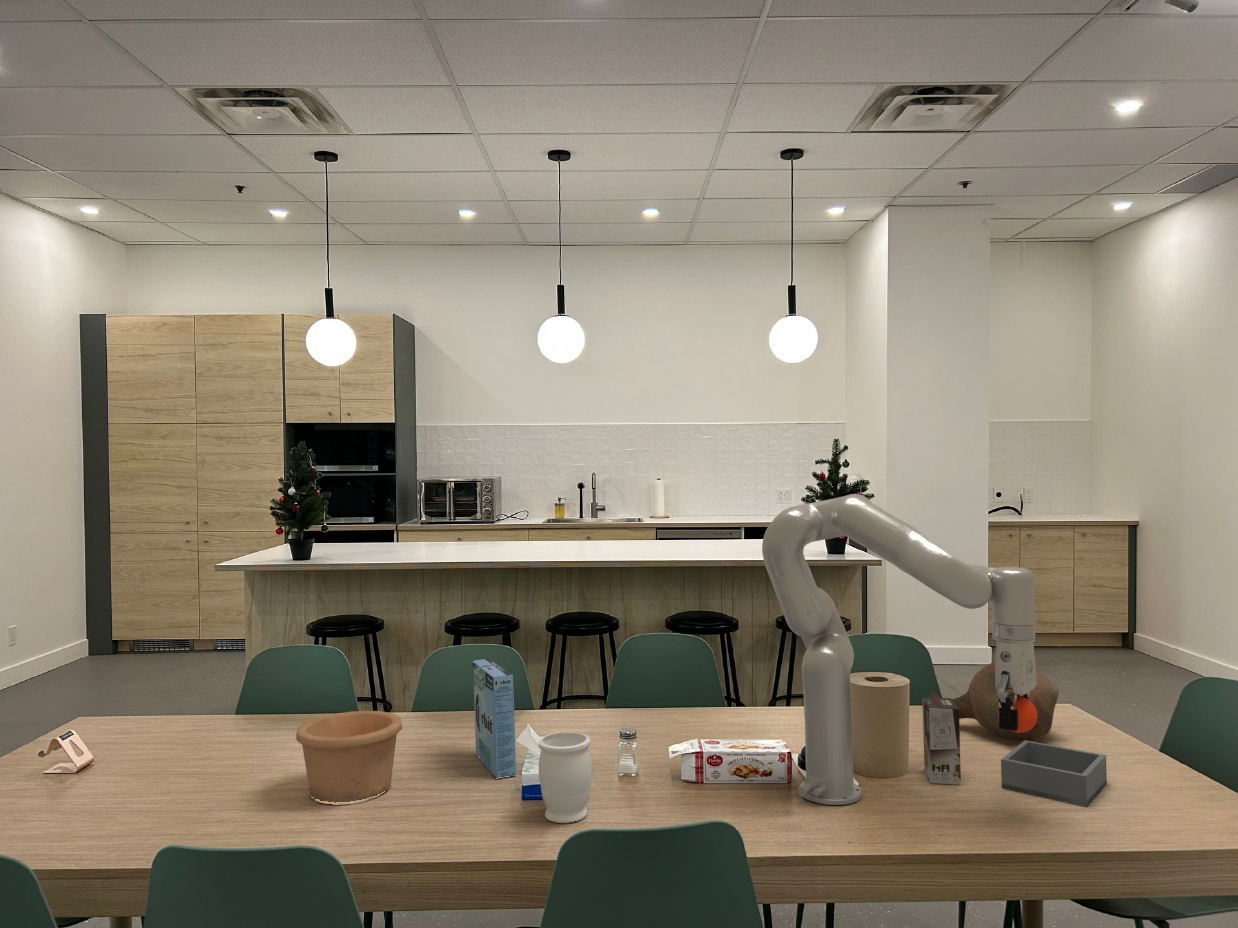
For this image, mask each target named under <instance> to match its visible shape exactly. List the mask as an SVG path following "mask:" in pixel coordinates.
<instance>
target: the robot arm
mask: <svg viewBox="0 0 1238 928" xmlns="http://www.w3.org/2000/svg"><path fill="white" fill-rule="evenodd" d="M763 535H764V536H763V538H762V544H761V545H762V546H761V549H762V551H761V552H762V558H763V559H762V560H763V563H764V566H765V568H766V572H767V574H768V576H769V580H770V581H771V585H772V587H773V589H774V593H775V594H776V597H777V601H778V602H779V605H780V608H781V610H782V613H783V616H784V619H785V622H786V624H787V626H788V628H789V629H790V631H792V632H793V633H794V634H795V635H797V636H798V637H801V639H802V641H803V644H804V646H805V648H806V651H805V653H804V655H803V658H802V662H801V680H802V681H801V683H802V690H803V708H804V709H803V710H804V712H803V713H804V738H805V740H804V741H805V746H804V747H805V780H804V781H802V782H801V783H800V784H799V786H798V787H797V795H799V797H801V798H804V799H805V800H808V801H810V802H812V803H815V804H821V805H826V806H827V805H829V806H840V805H841V806H843V805H844V806H845V805H850V804H854V803H855V802H858V801H859V800H860V799H861V798H862V795H863V794H862V789H861V787H859V785H858V784H855V783H854V755H853V753H854V751H853V750H854V749H853V745H854V744H853V719H852V718H853V716H852V711H853V710H852V696H851V670H852V667H853V665H854V661H855V660H854V659H855V653H854V648H853V646H852V642H851V640H850V637H849V634H848V633H847V630H846V627H845V625H844V623H843V621H842V619H841V616H840V614H839V611H838V609H837V606H836V604H835V602H834V601H833V599H832V597H831V596H830V594H829V593H828V592H826V591H825V590H824V589H823V588H820V587H818V586H817V584H816V581H815V579H814V576H813V573H812V571H811V568H810V566H809V564H808V561H807V560H806V557H805V554H804V549H805V547H806V546H807V545H809V544H811V543H813V542H819V541H825V540H832V539H834V538H840V537H841V538H842V537H847V538H848V539H851V540H852V541H853V542H855V543H856V544H858V545H861V546H862V547H864V548H866V549H867V550H868V551H870V552H873V553H874V554H875V555H877V556H879V557H881V558H882V559H883V560H885V561H887V562H888V563H890V564H892V565H894V566H895V567H896V568H898V569H899V570H900V571H902V572H904V573H906V574H908V575H909V576H911V577H913V578H914V579H915V580H917V581H919V582H920V583H922V584H923V585H924V586H926V587H927V588H929V589H931V590H932V591H934V592H936V593H937V594H939V595H941V596H943V597H944V598H946V599H948V600H949V601H951V602H953V603H954V604H956V605H958V606H960V607H962V608H964V609H968V610H969V609H971V610H974V609H979V608H983V607H984V606H985V605H987V603H989V601H990V603H991V630H992V631H991V633H992V634H991V635H992V636H991V637H992V640H994V641H996V643H995V644H996V645H995V655H994V656H995V660H994V662H995V685H996V690H997V694H998V700H999V704H998V706H999V727H1000V728H1001V729H1006V730H1012V731H1017V730H1018V710H1017V709H1015V708H1016V700H1017V695H1018V696H1023V697H1025V698H1027V699H1028V700H1030V691H1031V690H1032V689H1034V688H1035V687H1036V670H1037V669H1036V668H1037V667H1036V656H1035V647H1034V646H1035V645H1034V643H1035V642H1036V619H1035V618H1036V614H1035V613H1036V611H1035V610H1036V609H1035V608H1036V607H1035V606H1036V604H1035V599H1036V598H1035V576H1034V573H1033V572H1032V570H1031V569H1027V568H1025V567H1015V566H1003V567H989V566H983V565H978V564H977V565H976V564H967V563H965V562H963V561H961V560H960V559H958V558H956V557H954V556H952V555H951V554H950V553H948V552H947V551H945V550H943V549H941V548H940V547H939V546H937V545H936V544H935V543H934V542H932V541H931V539H930V540H929V538H928V537H927V536H926V535H924V534H923V532H921V531H920V530H918V529H917V528H916V527H914V526H913V525H911V524H909V523H908V522H905V521H903V519H900V518H898V517H897V516H894V515H893V514H892V513H889V512H888V511H885V510H884V509H883V508H881V507H879V506H877V505H876V504H874V503H872V501H871V500H870V499H869V498H868V497H866V496H864V495H861V494H859V493H858V494H856V493H852V494H847V495H844V496H839V497H834V498H830V499H826V500H825V499H824V500H819V501H814V502H811V503H810V502H809V503H803V504H798V505H793V506H790V507H788V508H785V509H784V510H782V511H780V512H779V513H777V515H776V516H775V517H774V518H773V520H772V521H771V522H770V523H769V525H768V526H767V528H766V530H765V532H764V534H763ZM1007 689H1009V690H1013V692H1008V691H1007ZM1007 696H1012V700H1010V698H1009V697H1007Z"/></svg>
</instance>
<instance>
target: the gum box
mask: <svg viewBox="0 0 1238 928" xmlns="http://www.w3.org/2000/svg"><path fill="white" fill-rule="evenodd" d="M472 668H473V670H472V672H473V674H472V675H473V696H474V697H473V702H474V704H473V705H474V731H475V754H476V753H477V755H478V756H479V757H480V759H481V760H482V761H483V762H482V761H481V760H480V759H479V760H480V761H481V762H482V764H483V763H484V764H485V765H486V766H487V767H486V766H485V765H484V764H483V765H484V766H485V767H486V768H487V770H488V769H489V770H490V771H491V772H492V773H491V772H490V771H489V770H488V771H489V772H490V773H491V775H492V774H493V775H494V776H495V777H496V778H498V777H505V776H513V775H514V777H516V776H517V760H516V758H517V753H516V728H515V726H516V722H515V721H516V720H515V698H514V694H515V693H514V692H515V691H514V674H513V673H511V672H510V671H508V670H507V669H505V668H504V667H502V666H501V665H500V664H499V663H497V662H496V661H494V660H493V659H492V658H483V659H477V660H473V661H472ZM477 755H476V756H477ZM478 756H477V757H478ZM479 757H478V758H479ZM493 775H492V776H493ZM515 775H516V776H515ZM494 776H493V777H494ZM495 777H494V778H495ZM496 778H495V779H496Z"/></svg>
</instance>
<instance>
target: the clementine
mask: <svg viewBox="0 0 1238 928" xmlns="http://www.w3.org/2000/svg"><path fill="white" fill-rule="evenodd" d="M1007 697H1009V698H1010V700H1012V696H1007ZM997 700H998V699H997ZM997 700H996V701H997ZM996 701H995V702H996ZM993 704H994V703H993ZM992 706H993V705H992ZM1015 709H1017V710H1018V730H1017V731H1013V732H1016V733H1023V732H1027V731H1029V730H1031V729H1032V728H1033V727H1034V726H1035V724H1036V722H1037V716H1038V715H1037V710H1036V708H1035V706H1034V705H1033V704H1032V702H1031V701H1030V700H1028V699H1027V698H1025V697H1023V696H1018V695H1017V700H1016V708H1015ZM998 717H999V707H998ZM1010 731H1012V730H1010Z"/></svg>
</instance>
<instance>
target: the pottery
mask: <svg viewBox="0 0 1238 928" xmlns="http://www.w3.org/2000/svg"><path fill="white" fill-rule="evenodd" d="M402 730H403V722H402V718H401V716H399V715H397V714H396V713H392V712H386V711H381V710H356V711H346V712H338V713H331V714H328V715H324V716H323V715H322V716H320V717H316V718H313V719H311V720H309V721H306V722H304V723H303V724H301V725H300V726H298V727H297V729H296V734H295V739H296V741H297V742H298V743H299V744H300V745H301V746H302V751H303V759H304V764H305V769H306V776H307V782H308V788H309V794H310V795H311V796H312V797H314V799H319V800H320V801H328V802H335V803H336V802H350V801H356V800H362V799H366V798H369V797H373V796H377V795H378V794H381V793H382V792H384V791H386V790H387V789H388V788H389V787H390V786H391V787H392V778H393V777H392V776H393V768H394V760H395V754H396V753H395V752H396V751H395V750H396V743H397V735H398V734H399V732H401V731H402ZM391 787H390V788H391ZM310 795H309V796H310Z"/></svg>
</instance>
